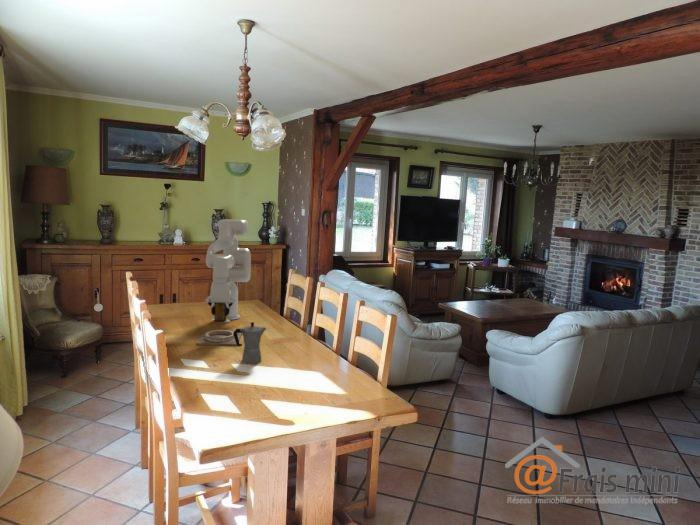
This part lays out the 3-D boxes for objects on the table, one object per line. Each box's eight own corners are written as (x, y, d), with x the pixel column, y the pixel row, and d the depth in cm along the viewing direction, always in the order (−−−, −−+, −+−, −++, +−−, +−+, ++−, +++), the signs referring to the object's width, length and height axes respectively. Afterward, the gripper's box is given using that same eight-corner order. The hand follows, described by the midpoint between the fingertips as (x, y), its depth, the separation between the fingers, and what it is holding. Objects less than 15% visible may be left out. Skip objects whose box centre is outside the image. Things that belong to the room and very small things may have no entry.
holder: (204, 333, 264) (204, 327, 263) (242, 334, 266) (242, 328, 265) (196, 344, 244) (196, 339, 244) (236, 345, 246) (237, 340, 245)
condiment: (224, 317, 259) (224, 295, 257) (231, 321, 252) (231, 298, 251) (210, 319, 254) (211, 296, 252) (217, 323, 248) (218, 300, 246)
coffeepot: (262, 355, 234) (262, 318, 231) (268, 361, 226) (269, 323, 223) (229, 359, 226) (230, 321, 224) (235, 366, 218) (236, 326, 215)
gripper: (239, 279, 255) (238, 313, 257) (205, 278, 253) (204, 312, 256) (236, 282, 247) (236, 317, 250) (201, 281, 246) (201, 316, 248)
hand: (220, 314), depth 253 cm, fingers closed on condiment, 6 cm apart
